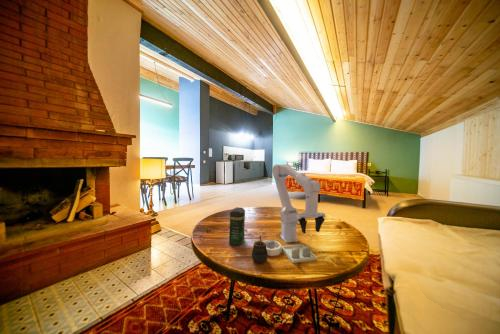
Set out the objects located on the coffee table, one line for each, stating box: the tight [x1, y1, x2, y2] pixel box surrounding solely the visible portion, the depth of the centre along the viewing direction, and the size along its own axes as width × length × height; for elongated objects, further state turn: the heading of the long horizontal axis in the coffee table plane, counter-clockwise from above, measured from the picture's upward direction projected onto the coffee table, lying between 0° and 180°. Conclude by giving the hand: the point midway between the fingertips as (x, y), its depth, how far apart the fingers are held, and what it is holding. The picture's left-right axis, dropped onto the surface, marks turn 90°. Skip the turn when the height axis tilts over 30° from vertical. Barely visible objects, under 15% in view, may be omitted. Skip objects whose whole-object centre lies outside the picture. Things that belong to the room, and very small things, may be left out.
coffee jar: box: [228, 207, 246, 246], centre depth 102 cm, size 10×8×19 cm
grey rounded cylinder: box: [267, 239, 276, 249], centre depth 93 cm, size 4×4×4 cm
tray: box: [282, 243, 318, 264], centre depth 90 cm, size 13×12×2 cm
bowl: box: [263, 239, 283, 257], centre depth 94 cm, size 10×10×3 cm
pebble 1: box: [292, 247, 300, 259], centre depth 86 cm, size 4×4×4 cm
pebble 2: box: [302, 245, 312, 258], centre depth 88 cm, size 4×4×4 cm
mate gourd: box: [251, 235, 269, 264], centre depth 84 cm, size 7×8×10 cm
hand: (310, 232), depth 93 cm, fingers open, 7 cm apart
